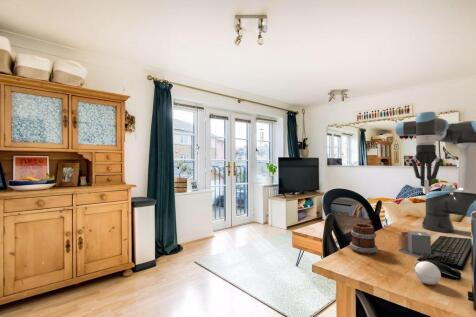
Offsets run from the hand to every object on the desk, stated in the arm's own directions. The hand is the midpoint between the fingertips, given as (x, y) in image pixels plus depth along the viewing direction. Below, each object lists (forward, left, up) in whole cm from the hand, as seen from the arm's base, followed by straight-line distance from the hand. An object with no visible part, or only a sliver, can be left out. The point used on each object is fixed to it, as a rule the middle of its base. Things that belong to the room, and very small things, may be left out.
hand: (425, 193), depth 119 cm
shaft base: (+10, +3, -26) cm, 28 cm away
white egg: (+37, +22, -27) cm, 51 cm away
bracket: (+1, -6, -27) cm, 28 cm away
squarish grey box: (+10, +3, -25) cm, 27 cm away
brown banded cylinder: (+29, -10, -27) cm, 41 cm away
